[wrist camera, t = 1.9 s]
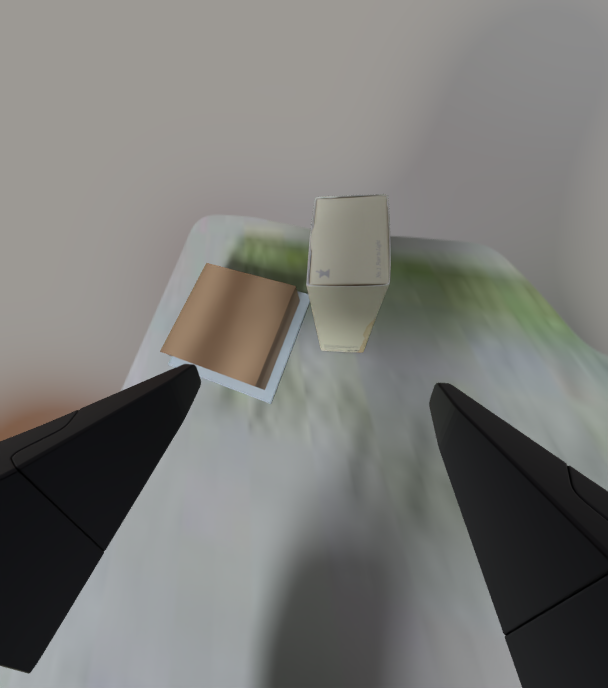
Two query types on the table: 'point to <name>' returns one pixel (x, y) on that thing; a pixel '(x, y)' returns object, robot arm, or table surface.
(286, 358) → the plan sheet
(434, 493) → the table surface
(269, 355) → the walnut plinth
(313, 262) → the skincare box
